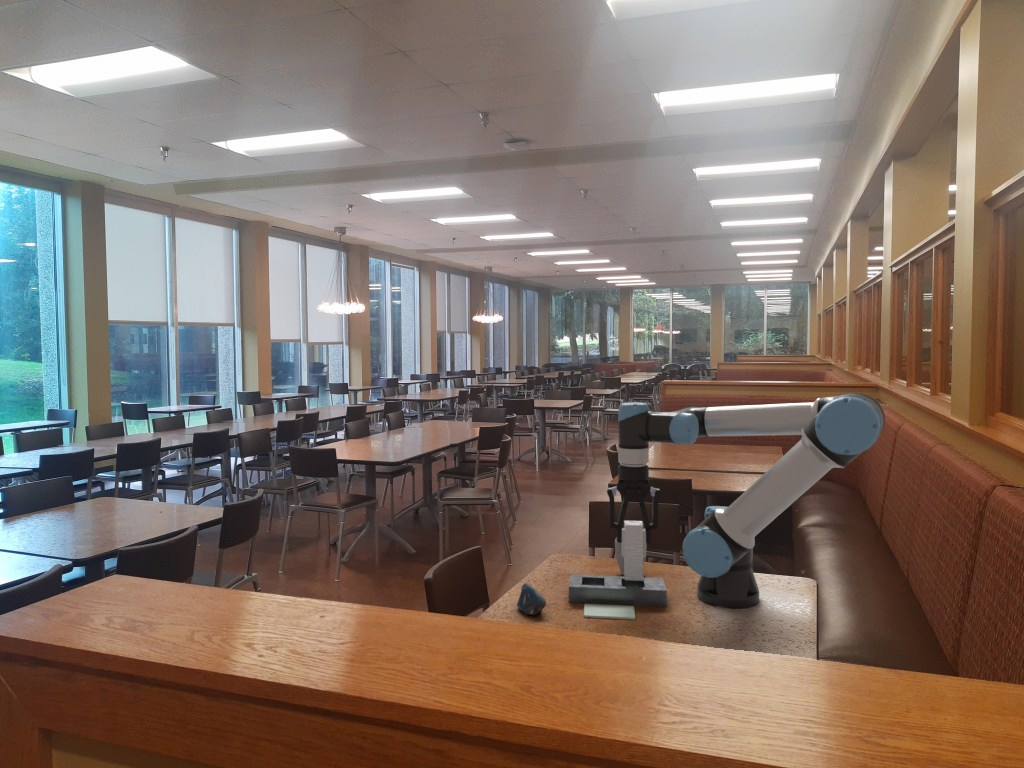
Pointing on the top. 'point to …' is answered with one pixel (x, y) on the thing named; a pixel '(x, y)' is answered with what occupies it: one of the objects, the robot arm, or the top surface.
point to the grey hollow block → (617, 590)
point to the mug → (619, 556)
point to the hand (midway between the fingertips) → (633, 555)
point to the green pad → (609, 611)
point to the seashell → (530, 600)
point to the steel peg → (633, 550)
